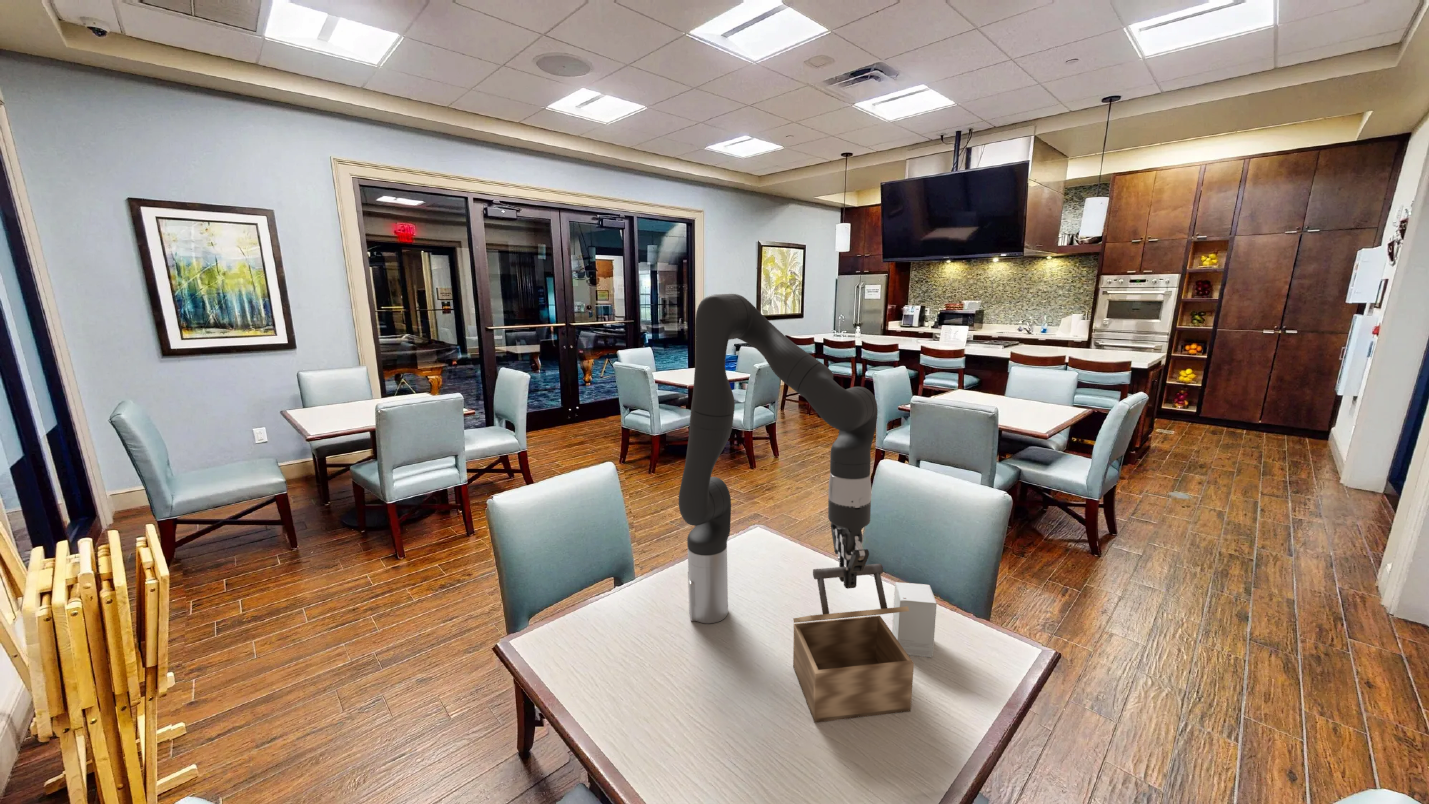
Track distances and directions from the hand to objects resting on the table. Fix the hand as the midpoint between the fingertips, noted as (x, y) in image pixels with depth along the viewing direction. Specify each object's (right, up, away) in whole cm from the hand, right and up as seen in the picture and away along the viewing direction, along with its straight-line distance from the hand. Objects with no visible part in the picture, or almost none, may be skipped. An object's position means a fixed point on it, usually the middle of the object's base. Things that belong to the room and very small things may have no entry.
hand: (847, 583), depth 97 cm
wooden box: (+1, -21, +2) cm, 21 cm away
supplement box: (+17, -18, +14) cm, 29 cm away
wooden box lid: (0, -6, 0) cm, 7 cm away
